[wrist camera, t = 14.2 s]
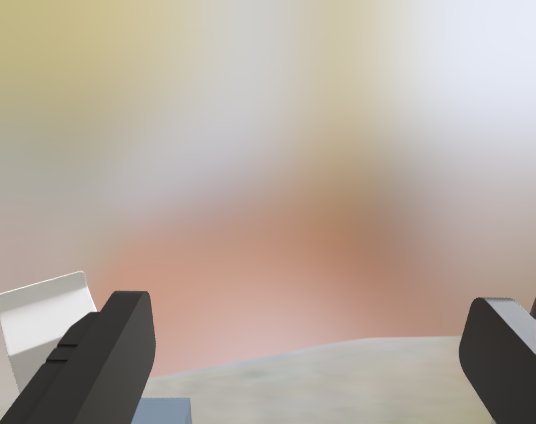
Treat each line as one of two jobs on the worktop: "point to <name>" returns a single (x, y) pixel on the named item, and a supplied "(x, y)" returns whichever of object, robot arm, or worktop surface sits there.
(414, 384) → the worktop surface
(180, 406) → the post
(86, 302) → the milk
